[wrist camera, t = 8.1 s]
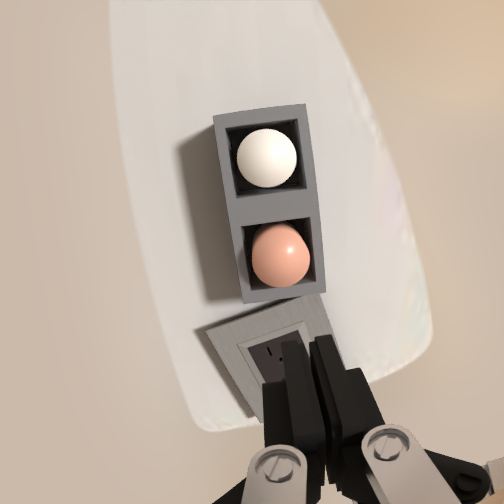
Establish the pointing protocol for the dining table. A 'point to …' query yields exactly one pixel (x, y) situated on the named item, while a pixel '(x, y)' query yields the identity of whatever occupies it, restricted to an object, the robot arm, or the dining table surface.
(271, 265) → the pink button
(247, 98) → the dining table surface
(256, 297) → the button console
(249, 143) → the white button
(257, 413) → the electrical outlet
